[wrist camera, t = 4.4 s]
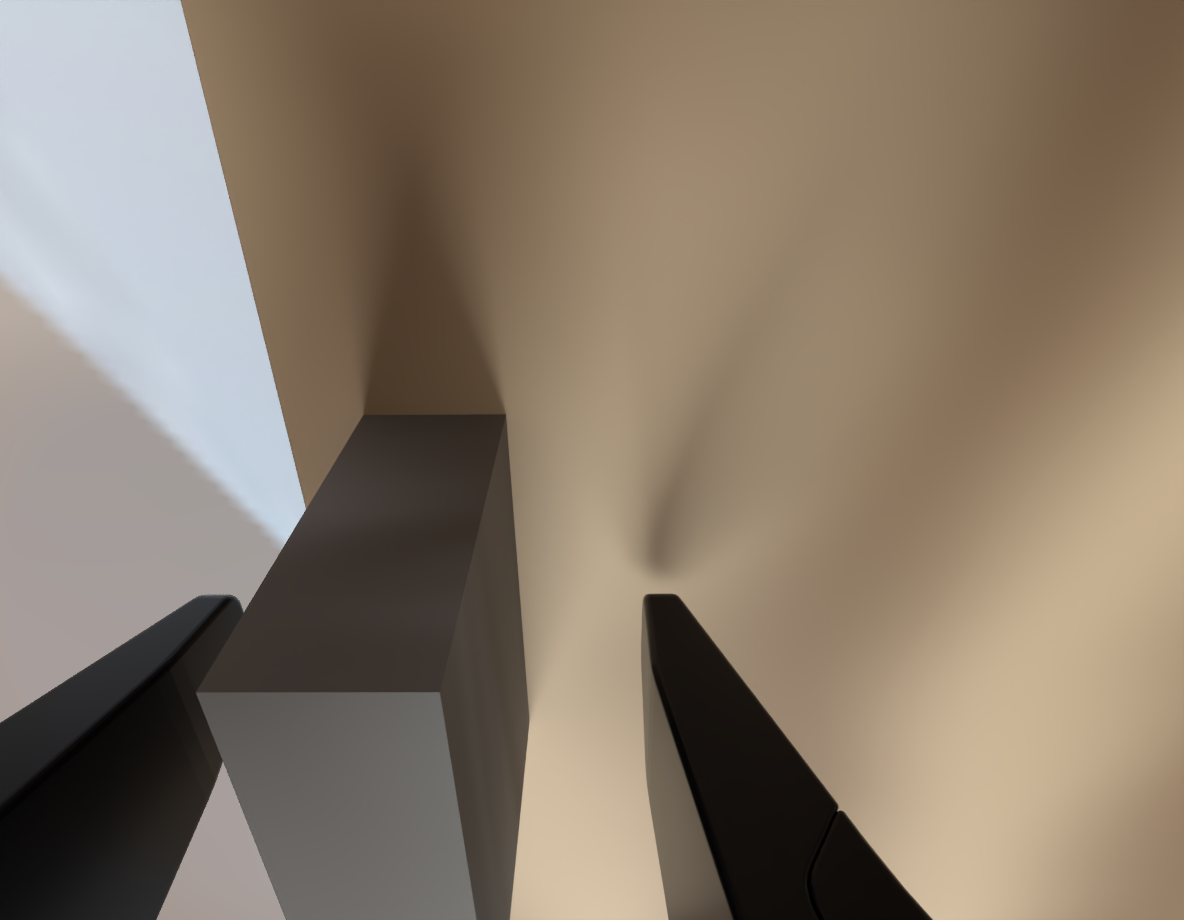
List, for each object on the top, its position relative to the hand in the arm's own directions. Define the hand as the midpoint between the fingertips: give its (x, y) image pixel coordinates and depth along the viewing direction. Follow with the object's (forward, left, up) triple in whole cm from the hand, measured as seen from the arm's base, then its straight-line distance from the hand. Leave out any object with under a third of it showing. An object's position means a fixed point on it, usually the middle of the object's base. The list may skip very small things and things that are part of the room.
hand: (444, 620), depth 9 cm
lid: (-6, 0, -1) cm, 6 cm away
